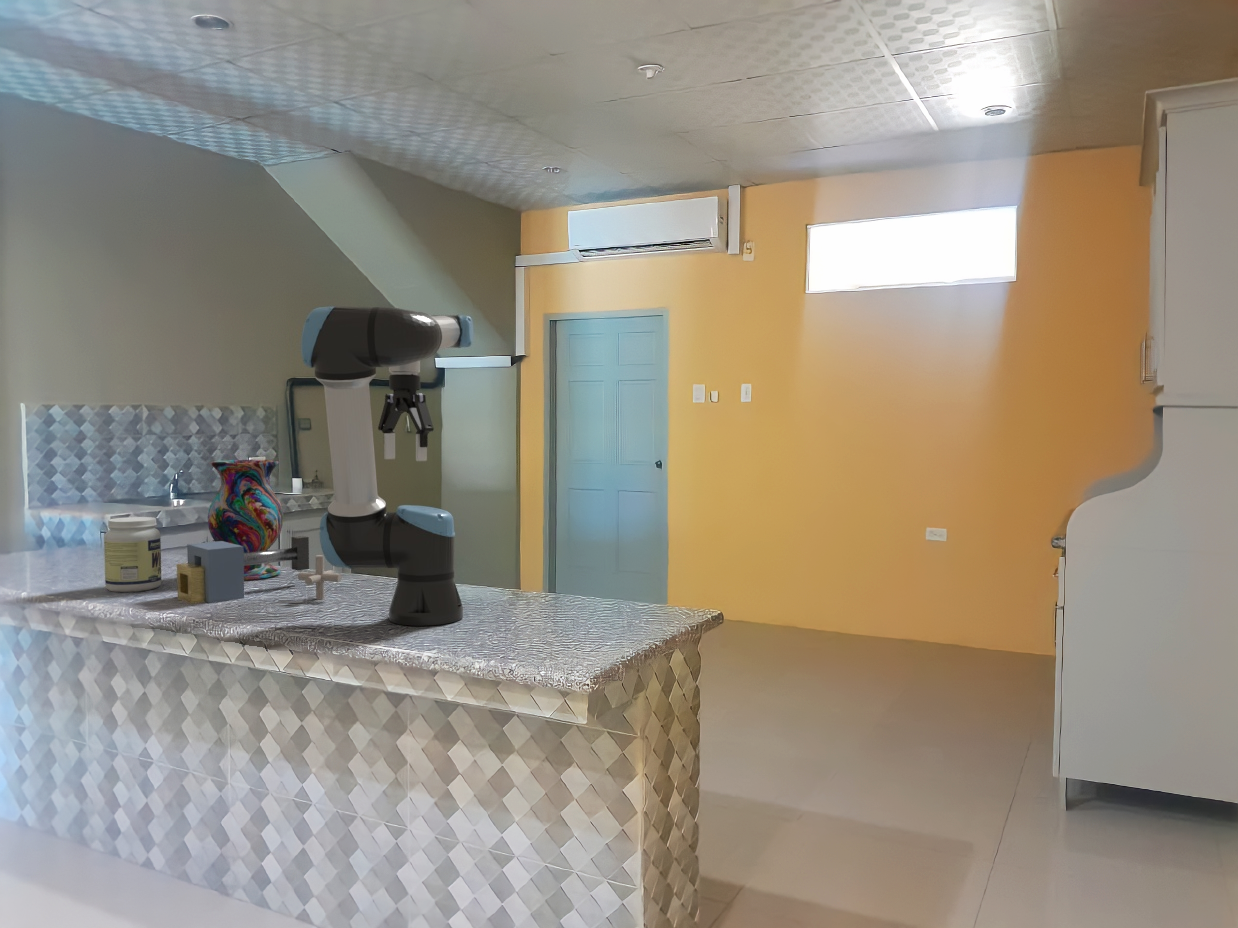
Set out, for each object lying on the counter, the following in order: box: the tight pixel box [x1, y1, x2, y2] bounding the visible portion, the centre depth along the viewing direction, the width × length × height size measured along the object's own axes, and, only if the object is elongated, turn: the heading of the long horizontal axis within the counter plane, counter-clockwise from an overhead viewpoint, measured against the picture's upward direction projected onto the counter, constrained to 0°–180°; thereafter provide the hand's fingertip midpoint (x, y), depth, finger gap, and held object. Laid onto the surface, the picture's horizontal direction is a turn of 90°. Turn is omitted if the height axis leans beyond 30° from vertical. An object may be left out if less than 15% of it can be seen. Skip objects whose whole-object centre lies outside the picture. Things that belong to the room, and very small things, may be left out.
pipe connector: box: [297, 554, 343, 601], centre depth 215 cm, size 10×10×10 cm
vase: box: [207, 459, 284, 581], centre depth 243 cm, size 18×18×30 cm
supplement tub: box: [103, 516, 162, 593], centre depth 226 cm, size 12×12×17 cm
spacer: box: [176, 562, 206, 605], centre depth 213 cm, size 8×3×8 cm, turn 46°
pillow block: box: [186, 541, 245, 604], centre depth 216 cm, size 12×8×12 cm, turn 46°
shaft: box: [244, 535, 310, 571], centre depth 224 cm, size 3×23×8 cm, turn 135°
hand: (405, 460), depth 232 cm, fingers open, 13 cm apart
